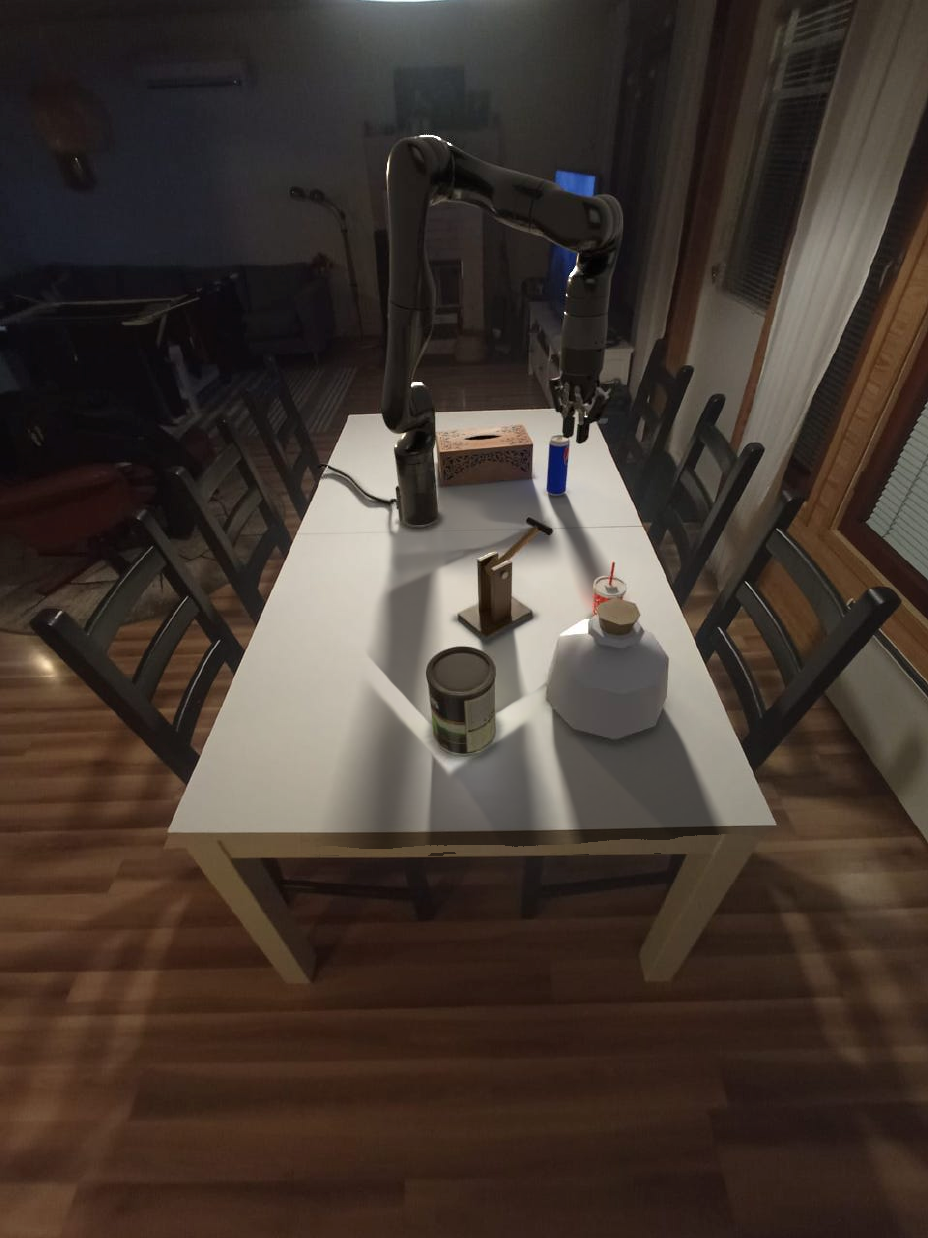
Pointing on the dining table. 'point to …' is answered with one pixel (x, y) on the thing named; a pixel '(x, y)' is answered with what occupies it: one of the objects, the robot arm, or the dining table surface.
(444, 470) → the tissue box cover
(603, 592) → the beverage cup
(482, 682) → the coffee can
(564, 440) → the beverage can
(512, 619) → the lever base
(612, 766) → the dining table surface
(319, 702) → the dining table surface
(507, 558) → the wooden lever handle
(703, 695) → the dining table surface
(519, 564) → the dining table surface
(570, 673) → the bottle
